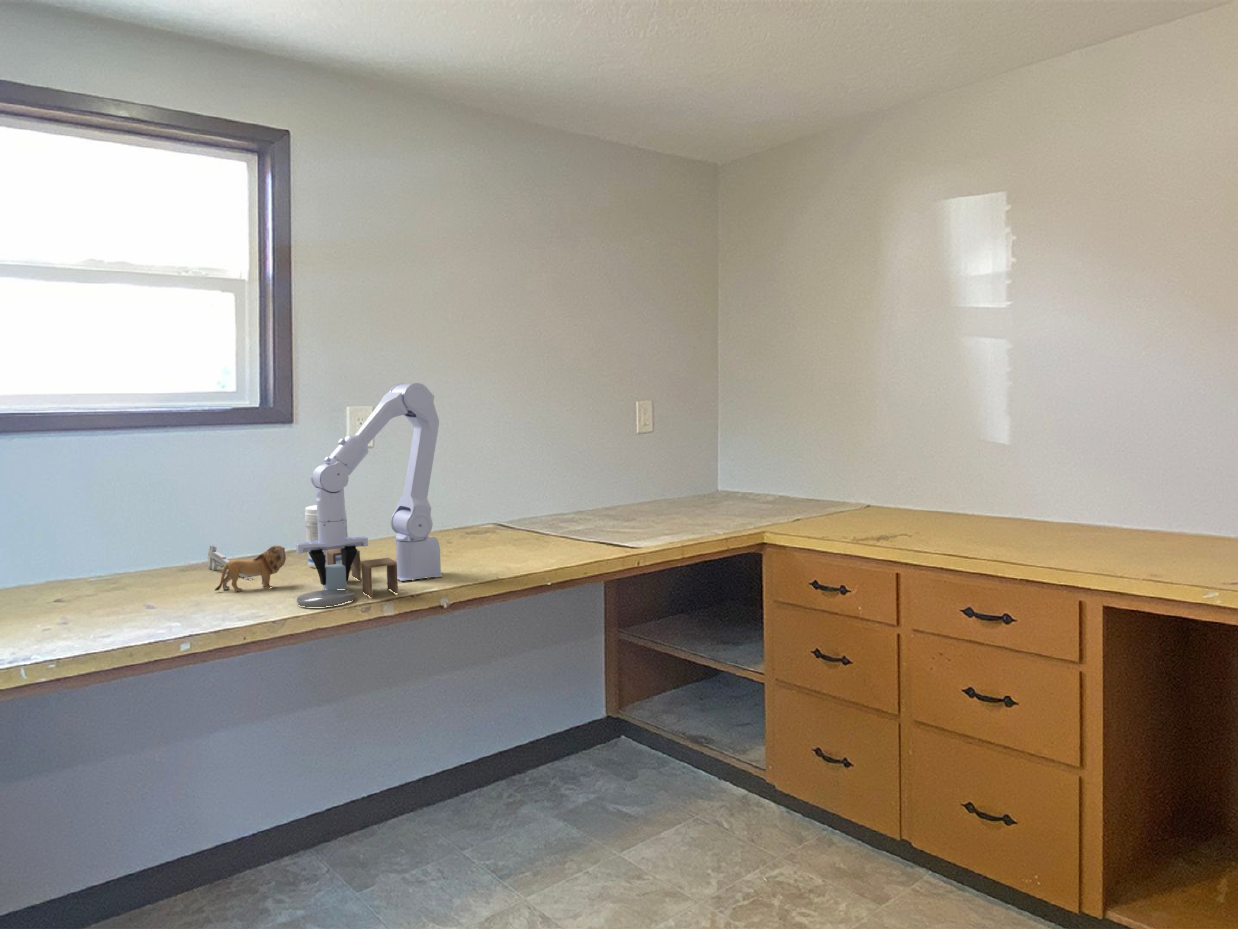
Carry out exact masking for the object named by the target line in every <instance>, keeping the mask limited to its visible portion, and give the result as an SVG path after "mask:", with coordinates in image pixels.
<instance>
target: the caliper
mask: <svg viewBox="0 0 1238 929" xmlns="http://www.w3.org/2000/svg"><path fill="white" fill-rule="evenodd" d="M229 561H230V560H229V559H227V557H226V556H225V555H224V554H223V553H220V552H219V551H217V546H215V545H214V544H212V545H209V549H208V552H207V565H208V568H207V569H208V570H209V569H210V570H211V571H212V570H214V571H218V568H219V567H220V568H224V567H225V565H226V564H227V563H228V562H229ZM239 577H241V578H242V577H244V578H247V579H253V578H254V576H252V577H251V576H245V575H243V574H241V573H239ZM247 579H246V580H247Z"/></svg>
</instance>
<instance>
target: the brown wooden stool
mask: <svg viewBox="0 0 1238 929" xmlns="http://www.w3.org/2000/svg"><path fill="white" fill-rule="evenodd" d="M381 567H386V580H387V581H386V584H387V585H386V586H387V590H388V589H391V590H392V591H393V592H395V593H398V594H399V586H398V584H399V583H398V581H399V580H398V579H397V561H396V560H394V559H392V558H390V557H384V558H383V557H382V558H375V559H367V560H365V559H364V560H360V568H361V585H362V586H361V587H362V593H363V592H364V593H365V594H367V595H369V596H370V597H372V596H373V577H372V576H373V575H372V574H373V573H372V568H381Z"/></svg>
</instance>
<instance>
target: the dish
mask: <svg viewBox="0 0 1238 929" xmlns="http://www.w3.org/2000/svg"><path fill="white" fill-rule="evenodd" d="M353 599H355V592H354V591H352V590H348V589H347V590H324V589H321V590H316V591H310V592H307V593H303V594H301V595H298V596H297V597H296V604H297V603H298V605H300V606H305V607H326V606H334V605H338V604H342V603H345V602H348V601H352V600H353ZM298 605H297V606H298Z"/></svg>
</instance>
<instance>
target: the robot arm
mask: <svg viewBox="0 0 1238 929" xmlns="http://www.w3.org/2000/svg"><path fill="white" fill-rule="evenodd" d="M434 402H435V396H434V393H432V392H431V390H430V389H429V388H428V386H426V385H424V384H423V383H419V382H414V383H397V384H394V386H392V387H391V388H390V390H389V391H388V392H387V393H385V394H384V395H383V397H382V398H381V400H380V401H379V403H378V404H377V406H376V407H375V408H374V410H373V411H372V412H371V413H370V414H369V416H368V418H366V420H365V421H364V423H363V424H362V425H361V426H360V428H359V429H358V430H357V432H356V433H355V434H354V435H346V436H345V437H344V438H340V439H339V440H338V441H337V444H338V445H337V447H336V448H335V449H334V450H333V452H331V454H330V455H329V456H326V457H325V458H324V459H323V461H324V463H323V464H320V465H318V466H317V467H315V469H314V470H313V473H312V477H310V481H311V484H312V485H313V487H314V488H315V490H316V491H315V493H316V503H315V504H316V505H317V522H318V540H316V541H310V542H307V541H306V542H304V541H303V542H298V543H296V545H295V546H296V549H295V550H296V553H297V554H299V555H300V554H301V555H302V554H304V553H308V552H309V555H310V557H311V558H312V560H313V562H314V564H315V566H316V568H315V569H316V571H317V574H318V576H319V580H320V584H321V586H323V585H326V574H325V555H324V552H322V551H323V550H332V549H340V550H341V558H342V565H344V566H345V567H346V583H348V582H349V579H350V578H349V576H350V572H351V570H352V563H353V560H354V558H355V556H356V554H357V549H358V548H359V547H368V546H369V537H367V536H350V537H347V538H346V519H347V518H346V519H345V510H346V501H345V487H347V486H348V484H349V476H350V475H351V474H352V473H353V472H354V470H355V469H356V468H357V467H358V466H359V465H360V464H361V462H362V461H363V460H364V458H365V457H366V456H367V455H368V454H369V444H370V443H371V442H372V441H373V439H374V438H375V437H376V436H377V435H378V434H379V433H380V432H381V431H382V429H383V428H384V427H385V426H386V425H387V424H388V423H389V422H390V420H392V419H393V418H397V417H400V416H405V418H407V420H408V421H409V422H410V423H411V425H412V426H413V433H412V439H411V445H410V451H409V457H408V464H407V471H406V476H405V482H404V486H403V487H404V489H403V494H402V495H401V497H400V499H399V500H398V501H397V504H396V508H395V510H394V512H393V513H392V515H391V517H390V527H391V529H392V530H393V531H394V532H395V533H396V534H395V535H396V536H395V554H396V555H395V556H396V558H395V559H396V562H397V578H398V579H399V580H401V581H405V580H412V579H419V578H425V577H435V578H440V577H439V576H441V577H442V576H443V575H442V573H441V572H442V570H441V567H442V566H441V547H440V543H439V540H438V538H437V537H436V536H430V537H429V535H430V533H431V531H432V529H433V519H432V515H431V511H432V507H431V504H430V502H429V500H428V495H429V489H430V483H431V482H430V481H431V477H432V476H431V475H432V469H433V464H434V457H435V452H436V446H437V445H436V444H437V438H438V432H439V427H440V418H439V416H438V413H437V409H436V406H435V403H434ZM341 545H343V546H341ZM332 546H334V547H332ZM398 579H397V580H398ZM399 580H398V581H399ZM401 581H400V582H401ZM412 581H413V580H412ZM405 582H406V581H405Z"/></svg>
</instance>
